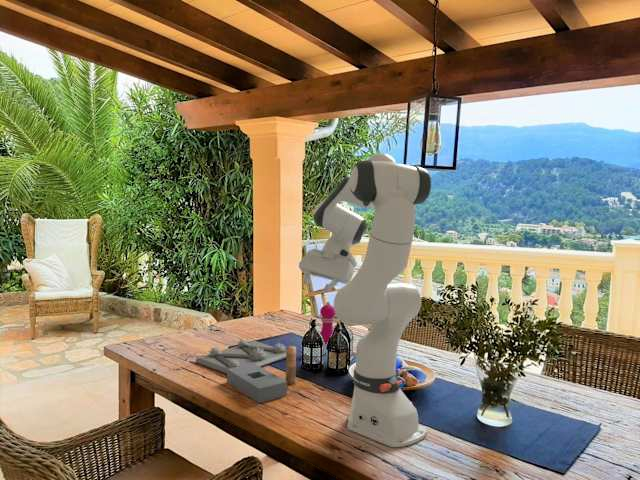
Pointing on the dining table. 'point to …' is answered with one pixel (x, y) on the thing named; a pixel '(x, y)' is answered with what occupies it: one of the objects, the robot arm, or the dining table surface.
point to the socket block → (257, 382)
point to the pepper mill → (327, 321)
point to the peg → (290, 364)
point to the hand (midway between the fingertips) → (315, 286)
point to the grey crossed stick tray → (242, 355)
